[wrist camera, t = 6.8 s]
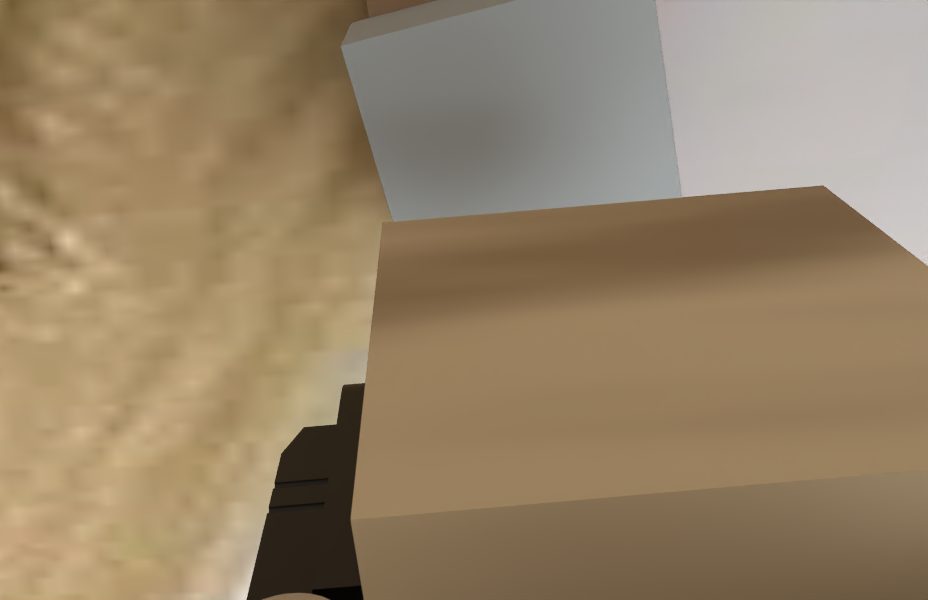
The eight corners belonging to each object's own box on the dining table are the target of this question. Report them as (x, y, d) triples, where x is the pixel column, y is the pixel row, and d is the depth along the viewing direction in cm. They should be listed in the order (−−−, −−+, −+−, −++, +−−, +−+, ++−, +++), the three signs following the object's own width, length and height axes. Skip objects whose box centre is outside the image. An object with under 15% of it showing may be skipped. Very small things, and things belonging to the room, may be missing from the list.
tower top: (351, 22, 22) (340, 46, 19) (616, -48, 22) (650, -35, 19) (420, 262, 25) (421, 316, 22) (655, 205, 25) (689, 252, 22)
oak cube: (382, 223, 11) (350, 520, 6) (823, 185, 11) (1163, 448, 6) (423, 559, 13) (426, 970, 8) (782, 528, 13) (998, 919, 8)
